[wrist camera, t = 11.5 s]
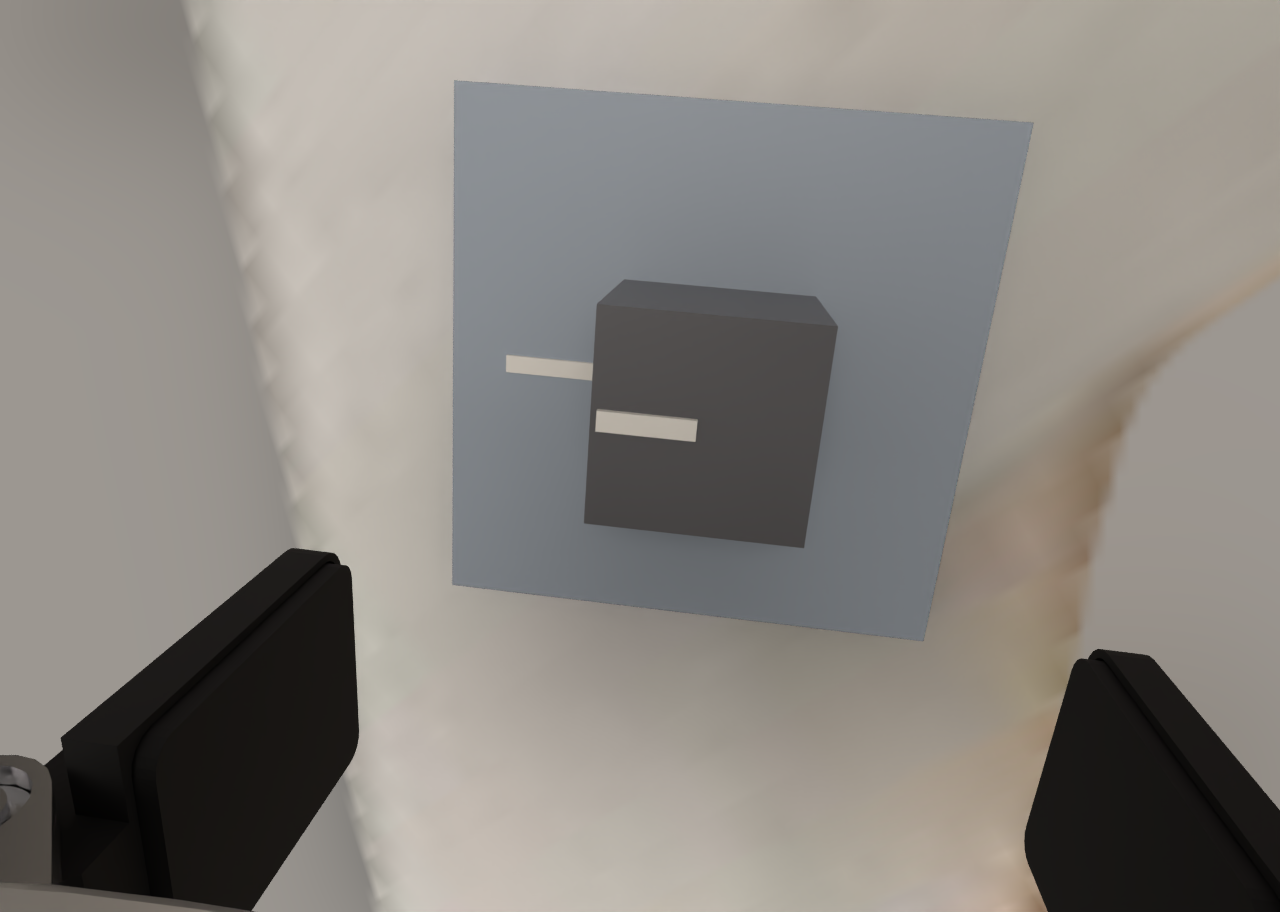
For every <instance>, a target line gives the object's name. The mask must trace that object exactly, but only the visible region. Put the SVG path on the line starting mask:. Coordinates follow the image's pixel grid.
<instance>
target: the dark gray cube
mask: <svg viewBox="0 0 1280 912" xmlns="http://www.w3.org/2000/svg"><path fill="white" fill-rule="evenodd" d="M837 330H838V325H837V324H836V323H835V321H834V320H833V319H832V317H831V316H830V315H829V313H828V312H827V311H826V309H825V308H824V307H823V305H822V304H821V302H820V301H819V300H818V298H817V297H816V296H805V295H794V294H783V293H772V292H761V291H750V290H739V289H727V288H716V287H705V286H694V285H683V284H672V283H661V282H650V281H638V280H627V279H624V280H623V281H622V282H621V283H619V284H618V285H617V286H616V287H615V288H614V289H613V290H612V291H611V292H609V293H608V294H607V295H606V296H605V297H604V298H603V299H602V300H601V301H599V302H598V303H597V307H596V324H595V341H594V358H593V375H592V392H591V409H590V426H589V443H588V460H587V477H586V494H585V511H584V524H593V525H602V526H610V527H619V528H628V529H637V530H646V531H655V532H664V533H672V534H681V535H690V536H699V537H708V538H717V539H726V540H735V541H743V542H752V543H761V544H770V545H779V546H788V547H797V548H804V545H805V539H806V532H807V526H808V519H809V513H810V506H811V500H812V493H813V487H814V480H815V474H816V467H817V461H818V454H819V448H820V441H821V435H822V428H823V422H824V415H825V408H826V402H827V395H828V389H829V382H830V376H831V369H832V363H833V356H834V350H835V343H836V337H837Z"/></svg>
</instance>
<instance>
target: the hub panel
mask: <svg viewBox="0 0 1280 912" xmlns="http://www.w3.org/2000/svg"><path fill="white" fill-rule="evenodd" d="M1032 128H1033V123H1032V122H1018V121H1004V120H990V119H977V118H963V117H949V116H936V115H922V114H908V113H894V112H881V111H867V110H853V109H840V108H826V107H812V106H798V105H785V104H771V103H757V102H744V101H730V100H716V99H702V98H689V97H675V96H661V95H647V94H634V93H620V92H606V91H593V90H579V89H565V88H551V87H538V86H524V85H510V84H497V83H483V82H469V81H455V80H454V302H453V577H452V585H458V586H467V587H475V588H483V589H492V590H500V591H508V592H517V593H525V594H533V595H542V596H550V597H558V598H567V599H575V600H584V601H592V602H600V603H609V604H617V605H625V606H634V607H642V608H650V609H659V610H667V611H675V612H684V613H692V614H700V615H709V616H717V617H725V618H734V619H742V620H750V621H759V622H767V623H775V624H784V625H792V626H800V627H809V628H817V629H825V630H834V631H842V632H850V633H859V634H867V635H875V636H884V637H892V638H900V639H909V640H917V641H924V636H925V631H926V627H927V622H928V617H929V613H930V608H931V603H932V598H933V594H934V589H935V584H936V580H937V575H938V570H939V566H940V561H941V556H942V551H943V547H944V542H945V537H946V533H947V528H948V523H949V518H950V514H951V509H952V504H953V500H954V495H955V490H956V486H957V481H958V476H959V471H960V467H961V462H962V457H963V453H964V448H965V443H966V439H967V434H968V429H969V424H970V420H971V415H972V410H973V406H974V401H975V396H976V392H977V387H978V382H979V377H980V373H981V368H982V363H983V359H984V354H985V349H986V344H987V340H988V335H989V330H990V326H991V321H992V316H993V312H994V307H995V302H996V297H997V293H998V288H999V283H1000V279H1001V274H1002V269H1003V265H1004V260H1005V255H1006V250H1007V246H1008V241H1009V236H1010V232H1011V227H1012V222H1013V218H1014V213H1015V208H1016V203H1017V199H1018V194H1019V189H1020V185H1021V180H1022V175H1023V170H1024V166H1025V161H1026V156H1027V152H1028V147H1029V142H1030V138H1031V133H1032ZM624 279H627V280H638V281H650V282H661V283H672V284H683V285H694V286H705V287H716V288H727V289H739V290H750V291H761V292H772V293H783V294H794V295H805V296H816V297H817V298H818V300H819V301H820V302H821V304H822V305H823V307H824V308H825V309H826V311H827V312H828V313H829V315H830V316H831V317H832V319H833V320H834V321H835V323H836V324H837V325H838V330H837V337H836V343H835V350H834V356H833V363H832V369H831V376H830V382H829V389H828V395H827V402H826V408H825V415H824V422H823V428H822V435H821V441H820V448H819V454H818V461H817V467H816V474H815V480H814V487H813V493H812V500H811V506H810V513H809V519H808V526H807V532H806V539H805V545H804V548H797V547H788V546H779V545H770V544H761V543H752V542H743V541H735V540H726V539H717V538H708V537H699V536H690V535H681V534H672V533H664V532H655V531H646V530H637V529H628V528H619V527H610V526H602V525H593V524H584V511H585V494H586V477H587V460H588V443H589V426H590V409H591V392H592V375H593V358H594V341H595V324H596V307H597V303H598V302H599V301H601V300H602V299H603V298H604V297H605V296H606V295H607V294H608V293H609V292H611V291H612V290H613V289H614V288H615V287H616V286H617V285H618V284H619V283H621V282H622V281H623V280H624Z"/></svg>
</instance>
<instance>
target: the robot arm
mask: <svg viewBox="0 0 1280 912" xmlns="http://www.w3.org/2000/svg"><path fill="white" fill-rule="evenodd" d="M358 738H359V722H358V700H357V679H356V657H355V636H354V615H353V593H352V576H351V571H350V569H349V567H348V566H346V565H340V561H339V559H338V556H337V555H336V554H334V553H329V552H321V551H313V550H305V549H297V548H291V549H289V550H287V551H286V552H285V553H283V554H282V555H281V556H280V557H278V558H277V559H276V560H275V561H274V562H272V563H271V564H270V565H269V566H268V567H266V568H265V569H264V570H263V571H262V572H260V573H259V574H258V575H257V576H256V577H254V578H253V579H252V580H251V581H249V582H248V583H247V584H246V585H245V586H243V587H242V588H241V589H240V590H239V591H237V592H236V593H235V594H234V595H233V596H231V597H230V598H229V599H228V600H227V601H225V602H224V603H223V604H222V605H220V606H219V607H218V608H217V609H216V610H214V611H213V612H212V613H211V614H210V615H208V616H207V617H206V618H205V619H204V620H202V621H201V622H200V623H199V624H198V625H196V626H195V627H194V628H193V629H192V630H190V631H189V632H188V633H187V634H185V635H184V636H183V637H182V638H181V639H179V640H178V641H177V642H176V643H175V644H173V645H172V646H171V647H170V648H169V649H167V650H166V651H165V652H164V653H163V654H161V655H160V656H159V657H158V658H156V659H155V660H154V661H153V662H152V663H151V664H149V665H148V666H147V667H146V668H144V669H143V670H142V671H141V672H140V673H138V674H137V675H136V676H135V677H134V678H132V679H131V680H130V681H129V682H127V683H126V684H125V685H124V686H123V687H121V688H120V689H119V690H118V691H117V692H115V693H114V694H113V695H112V696H111V697H109V698H108V699H107V700H106V701H104V702H103V703H102V704H101V705H100V706H98V707H97V708H96V709H95V710H94V711H93V712H91V713H90V714H89V715H88V716H86V717H85V718H84V719H83V720H82V721H80V722H79V723H78V724H77V725H76V726H74V727H73V728H72V729H71V730H70V731H68V732H67V733H66V734H65V735H63V736H62V737H61V742H62V747H63V750H62V751H61V752H60V753H59V754H57V755H56V756H55V757H54V758H53V759H51V760H50V761H49V762H48V763H47V764H46V765H42V764H41V763H39V762H38V761H37V760H35V759H31V758H27V757H23V756H18V755H0V912H254V911H252V909H253V908H254V906H255V904H256V903H257V902H258V900H259V899H260V897H261V896H262V894H263V893H264V891H265V890H266V888H267V887H268V885H269V884H270V882H271V881H272V879H273V877H274V876H275V875H276V873H277V872H278V870H279V869H280V867H281V865H282V864H283V863H284V861H285V860H286V858H287V857H288V855H289V854H290V852H291V850H292V849H293V848H294V846H295V845H296V843H297V842H298V840H299V839H300V837H301V836H302V834H303V833H304V831H305V830H306V828H307V827H308V825H309V824H310V822H311V821H312V819H313V818H314V816H315V815H316V813H317V812H318V810H319V809H320V807H321V806H322V804H323V803H324V801H325V800H326V798H327V797H328V795H329V794H330V792H331V791H332V789H333V788H334V786H335V785H336V783H337V782H338V780H339V779H340V777H341V776H342V774H343V773H344V771H345V770H346V768H347V767H348V765H349V764H350V762H351V760H352V759H353V756H354V754H355V751H356V748H357V744H358ZM1024 842H1025V853H1026V858H1027V861H1028V864H1029V867H1030V869H1031V872H1032V874H1033V876H1034V879H1035V881H1036V884H1037V886H1038V889H1039V891H1040V894H1041V896H1042V898H1043V901H1044V903H1045V906H1046V908H1047V911H1048V912H1280V810H1279V809H1278V808H1277V806H1276V805H1275V804H1274V803H1273V802H1272V800H1270V798H1269V797H1268V796H1267V794H1266V793H1265V792H1264V791H1263V790H1262V788H1261V787H1260V786H1259V785H1258V784H1257V782H1256V781H1255V780H1254V779H1253V778H1252V777H1251V775H1250V774H1249V773H1248V772H1247V771H1246V769H1245V768H1244V767H1243V766H1242V764H1241V763H1240V762H1239V761H1238V760H1237V759H1236V757H1235V756H1234V755H1233V754H1232V753H1231V751H1230V750H1229V749H1228V748H1227V747H1226V745H1225V744H1224V743H1223V742H1222V741H1221V739H1220V738H1219V737H1218V736H1217V735H1216V733H1215V732H1214V731H1213V730H1212V729H1211V727H1210V726H1209V725H1208V724H1207V723H1206V721H1205V720H1204V719H1203V718H1202V717H1201V715H1200V714H1199V713H1198V712H1197V711H1196V709H1195V708H1194V707H1193V706H1192V705H1191V703H1190V702H1189V701H1188V700H1187V699H1186V698H1185V696H1184V695H1183V694H1182V693H1181V691H1180V690H1179V689H1178V688H1177V687H1176V685H1175V684H1174V683H1173V682H1172V681H1171V680H1170V678H1169V677H1168V676H1167V675H1166V674H1165V672H1164V671H1163V670H1162V669H1161V668H1160V666H1159V665H1158V664H1157V663H1156V662H1155V660H1154V659H1152V658H1151V657H1150V656H1148V655H1143V654H1135V653H1127V652H1118V651H1110V650H1103V649H1097V650H1095V651H1093V652H1092V654H1091V655H1090V656H1089V658H1088V659H1079V660H1077V661H1076V663H1075V664H1074V666H1073V668H1072V671H1071V675H1070V678H1069V681H1068V685H1067V688H1066V692H1065V695H1064V699H1063V702H1062V706H1061V709H1060V712H1059V716H1058V719H1057V723H1056V726H1055V730H1054V733H1053V736H1052V740H1051V743H1050V747H1049V750H1048V754H1047V757H1046V761H1045V764H1044V767H1043V771H1042V774H1041V778H1040V781H1039V785H1038V788H1037V792H1036V795H1035V798H1034V802H1033V805H1032V809H1031V812H1030V816H1029V819H1028V823H1027V826H1026V830H1025V840H1024Z"/></svg>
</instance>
